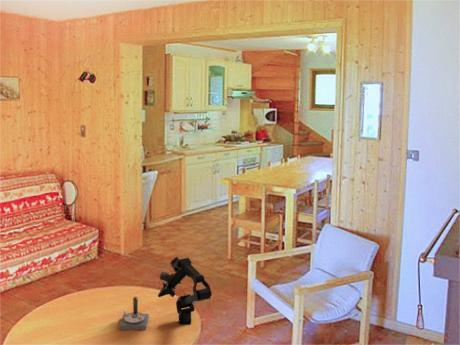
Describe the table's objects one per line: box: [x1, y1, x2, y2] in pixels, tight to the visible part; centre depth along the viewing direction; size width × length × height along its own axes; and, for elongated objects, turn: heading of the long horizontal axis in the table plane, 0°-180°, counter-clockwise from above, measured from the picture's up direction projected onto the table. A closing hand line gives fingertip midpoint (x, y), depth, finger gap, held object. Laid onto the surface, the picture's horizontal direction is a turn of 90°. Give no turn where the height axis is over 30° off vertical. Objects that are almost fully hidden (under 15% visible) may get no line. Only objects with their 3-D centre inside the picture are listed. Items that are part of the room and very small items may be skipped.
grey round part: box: [124, 296, 145, 324], centre depth 275 cm, size 11×13×10 cm
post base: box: [118, 308, 150, 331], centre depth 275 cm, size 14×14×6 cm
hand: (158, 296), depth 280 cm, fingers closed
